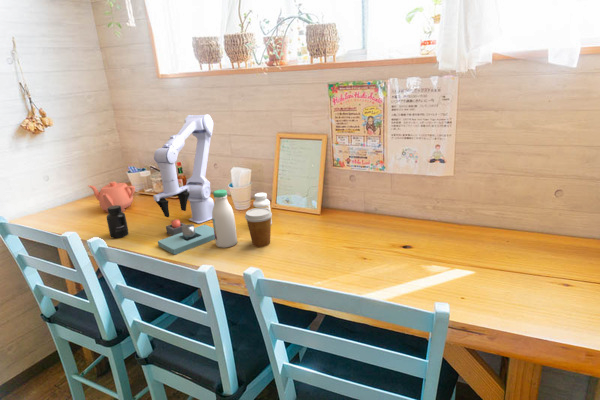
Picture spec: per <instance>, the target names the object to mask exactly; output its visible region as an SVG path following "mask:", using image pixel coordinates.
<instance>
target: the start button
mask: <svg viewBox="0 0 600 400" xmlns="http://www.w3.org/2000/svg"><path fill="white" fill-rule="evenodd" d="M180 220H181V219H178V218H177V219H173V220H171V221H170V223H171V224H172V227H173V228H177V227H179V226H181V225H180V222H181V221H180Z"/></svg>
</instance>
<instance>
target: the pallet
mask: <svg viewBox="0 0 600 400" xmlns="http://www.w3.org/2000/svg"><path fill="white" fill-rule="evenodd" d="M194 228H195V235H196V238H194V239H191V240H189V241H186V240H184V238H183V232H182V233H179V234H176V235H173V236H171V235H170V236H168V237H165V238H162V239H159V240H157V244H158V247H160V248H161V249H164V251H167V252H169V253H170V254H172V255H175V256H177V255H179V254H181V253H184V252H187V251H188V250H192V249H193V248H196V247H199V246H202V245H204V244H207V243H210V242H212V241H214V240H215V234H214V227H212V226H210V225H207V224H202V225H199V226H196V227H194Z"/></svg>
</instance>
